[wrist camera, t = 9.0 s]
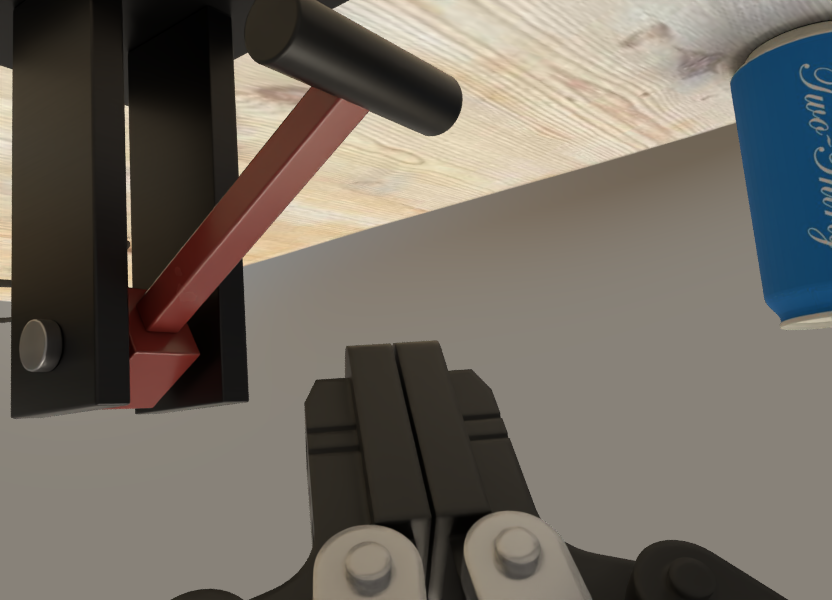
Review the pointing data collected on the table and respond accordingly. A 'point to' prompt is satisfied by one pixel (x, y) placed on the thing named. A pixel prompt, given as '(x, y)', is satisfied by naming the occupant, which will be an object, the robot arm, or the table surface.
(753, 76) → the beverage can
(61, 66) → the bracket
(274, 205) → the lever
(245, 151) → the table surface
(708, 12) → the table surface
